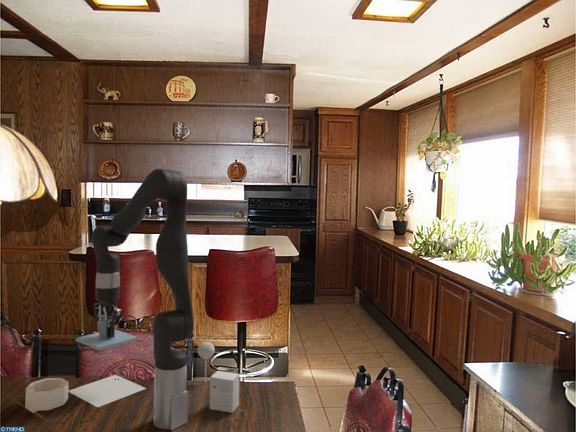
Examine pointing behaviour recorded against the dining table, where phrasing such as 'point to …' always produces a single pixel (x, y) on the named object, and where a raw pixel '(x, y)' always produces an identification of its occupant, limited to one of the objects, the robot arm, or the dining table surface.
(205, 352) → the lollipop
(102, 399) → the mat
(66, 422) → the dining table surface
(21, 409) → the dining table surface
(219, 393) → the small box
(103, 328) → the lid
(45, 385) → the bowl
